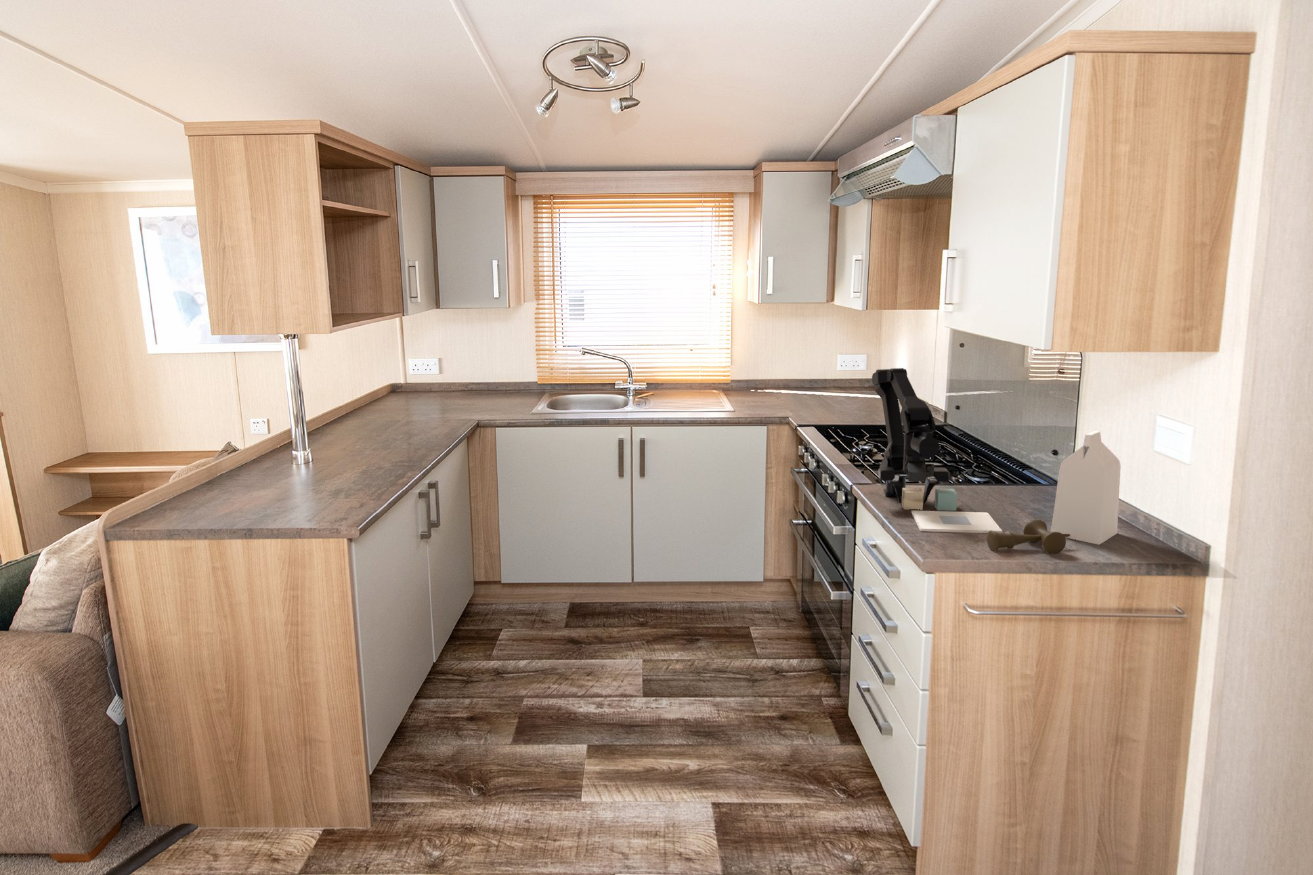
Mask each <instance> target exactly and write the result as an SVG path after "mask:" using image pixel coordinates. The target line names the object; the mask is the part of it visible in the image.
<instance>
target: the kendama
mask: <svg viewBox="0 0 1313 875" xmlns="http://www.w3.org/2000/svg"><path fill="white" fill-rule="evenodd" d="M1022 532H1023V534H1019V533H1012V532H1011V531H1010V530H1005V531H1004V532H1002V533H997V532H995V531H992V530H991V531H989V532H988V533H986V544H987V547H988V548H989V550H991V551H992V552H998V551H999V550H1000V549H1003V548H1007V549H1008V550H1010V549H1013V548H1014V547H1016V546H1018V545H1021V544H1025V543H1026V544H1027V543H1035V544H1036V543H1041V544H1042V548H1043V550H1044V552H1045V553H1046V554H1050V555H1051V554H1052V555H1053V554H1056V555H1057V554H1060V553H1061V552H1063V551H1064V549H1065V548H1066V544H1067V538H1066V537H1068V536H1070V534H1062V533H1060V532H1051V531H1049V530H1048V526H1047V523H1046V521H1043V520H1041V519H1033V520H1032V519H1031V520H1030V521H1028V522H1027V523H1026V524H1025V525H1024V528H1023V531H1022Z"/></svg>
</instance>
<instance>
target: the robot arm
mask: <svg viewBox="0 0 1313 875" xmlns="http://www.w3.org/2000/svg"><path fill="white" fill-rule="evenodd" d="M871 382H872V385H873V387H874V391H875V392H876V394H877V395H878V396H879V397H880V398H881V403H882V409H883V415H884V422H885V429H886V437H887V438H886V439H887V446H886V449H885V450H884V453H883V455H884V456H883V458H882V460H881V462H880V464H879V468H878V472H877V473H878V475H877V476H878V479H879V480H880V481H882V482H883V481H885V489H883V491H882V492H883V494H884V495H885V497H895V498H896V497H897V500H898V503H899V504H902V488H907V482H906V481H907V480H908V482H911V483H914V482H921V483H924V490H923V505H926V503H927V502H928V499H929V497H930V494H931V492H932V490H933V489H934V487H935V486H936V485H940V484H941V483H946V482H947V483H949V482H950V478H951V476H950V472H949V470H948V469H947V468H945V467H935V464H934V463H926V459H930V458H934V457H935V456H937V455H938V453H939V452H940V447H941V445H940V443H939V440H937V439H936V438H935V437H934V433H936V422H935V418H934V416H933V413H932V410H931V409H930V408H929V405H927V403H926V402H925V401H924V400H922V399H920V398H918V396H917V394H916V391H915V389H914V388H913V385H912V384H911V381H910V380H909V377H908V370H907V369H906V368H904V367H898V368H895V367H894V368H893V367H892V368H886V369H885V368H883V369H879V368H878V369H876V371H875V372H874V373H872V376H871ZM940 482H941V483H940Z"/></svg>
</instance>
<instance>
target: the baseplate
mask: <svg viewBox="0 0 1313 875" xmlns="http://www.w3.org/2000/svg"><path fill="white" fill-rule="evenodd" d="M911 515H912V517H913V520H914V521H915V524H916V525H917V527H918V529H919V531H920V532H935V533H936V532H938V533H939V532H940V533H969V534H972V533H973V534H988V532H989V531H991V530H992V531H995V532H997V533H1003V530H1002V529H1001V527H999V525H998V523H996V521H995V520H994V519H993V517H992V516H991V515H990V514H989V512H982V511H981V512H978V511H977V512H976V511H948V510H932V511H931V510H911Z"/></svg>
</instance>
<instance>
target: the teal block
mask: <svg viewBox="0 0 1313 875" xmlns="http://www.w3.org/2000/svg"><path fill="white" fill-rule="evenodd" d="M957 504H958V493H957V492H956V490H955V488H934V506H935V508H936V511H948V512H957Z"/></svg>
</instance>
